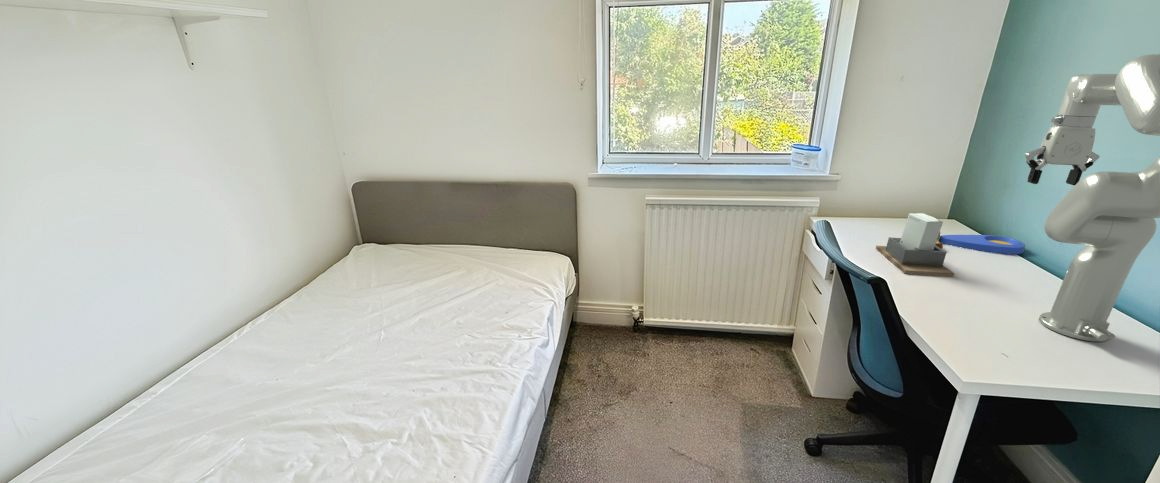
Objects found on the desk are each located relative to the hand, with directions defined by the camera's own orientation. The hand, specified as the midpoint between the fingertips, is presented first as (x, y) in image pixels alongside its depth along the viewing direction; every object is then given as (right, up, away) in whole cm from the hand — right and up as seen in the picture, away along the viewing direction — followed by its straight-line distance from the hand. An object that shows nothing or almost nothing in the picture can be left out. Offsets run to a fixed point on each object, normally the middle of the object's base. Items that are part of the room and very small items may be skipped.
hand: (1051, 183), depth 133 cm
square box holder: (-23, -23, +24) cm, 41 cm away
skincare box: (-23, -23, +23) cm, 40 cm away
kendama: (-5, -17, +42) cm, 45 cm away
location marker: (+11, -19, +38) cm, 44 cm away
